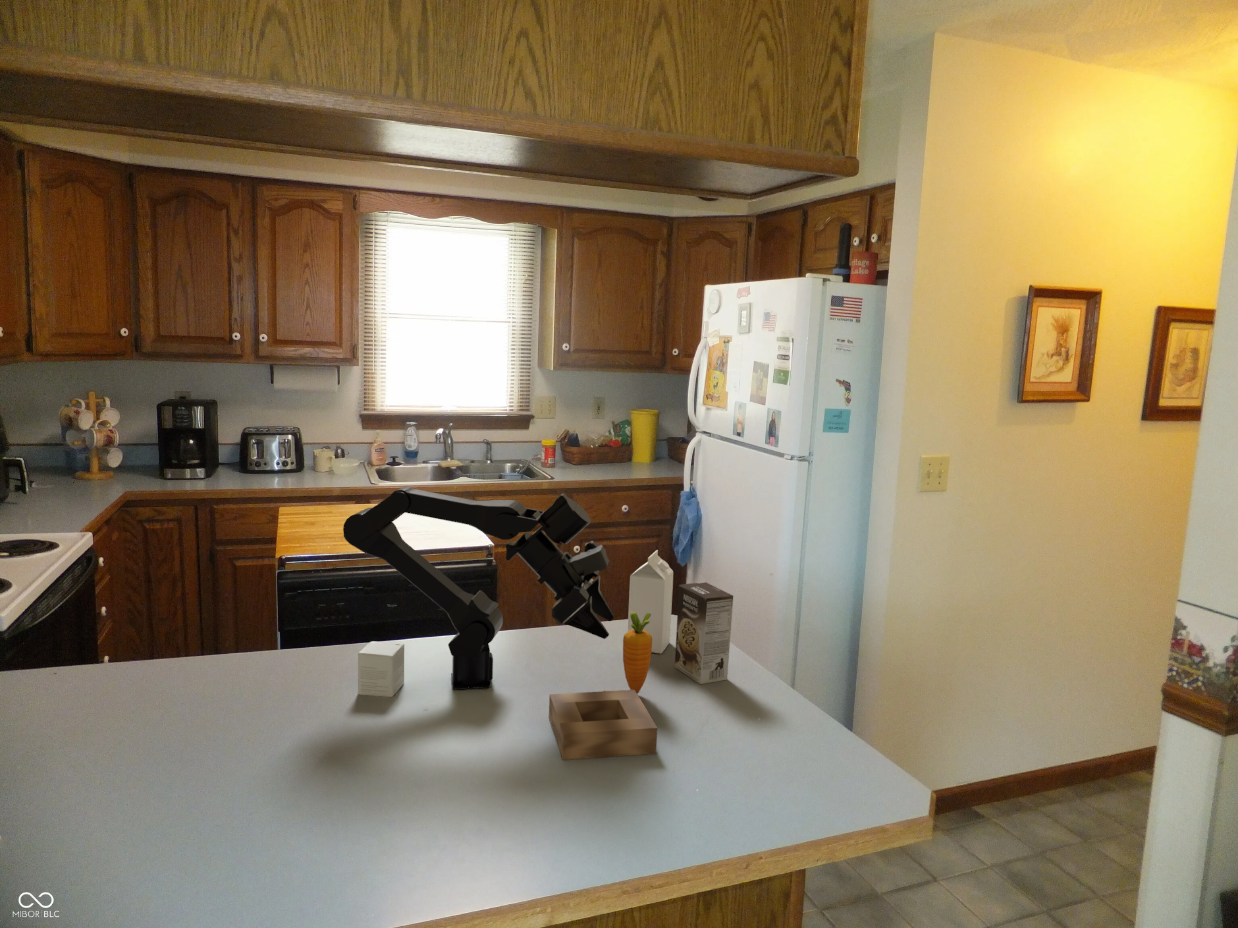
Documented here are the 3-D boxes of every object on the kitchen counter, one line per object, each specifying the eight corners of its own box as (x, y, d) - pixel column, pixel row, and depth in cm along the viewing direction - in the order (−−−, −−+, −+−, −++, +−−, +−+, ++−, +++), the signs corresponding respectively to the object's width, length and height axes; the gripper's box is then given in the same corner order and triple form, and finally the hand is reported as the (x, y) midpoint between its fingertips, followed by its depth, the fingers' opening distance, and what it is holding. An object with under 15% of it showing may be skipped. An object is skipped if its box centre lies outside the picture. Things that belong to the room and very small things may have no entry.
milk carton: (626, 649, 169) (630, 555, 167) (636, 637, 176) (640, 548, 173) (661, 654, 167) (666, 560, 165) (669, 642, 174) (674, 551, 171)
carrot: (648, 689, 150) (652, 606, 148) (650, 701, 145) (654, 616, 143) (620, 688, 150) (623, 606, 148) (621, 700, 145) (625, 615, 143)
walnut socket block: (562, 759, 124) (563, 733, 123) (548, 717, 137) (549, 693, 137) (656, 753, 127) (657, 727, 126) (633, 712, 140) (634, 689, 140)
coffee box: (672, 667, 161) (677, 584, 159) (701, 662, 164) (706, 580, 162) (699, 685, 153) (704, 597, 151) (729, 679, 156) (734, 594, 154)
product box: (371, 680, 149) (371, 640, 148) (405, 683, 148) (405, 642, 147) (357, 694, 143) (357, 652, 142) (392, 697, 142) (392, 655, 141)
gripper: (574, 542, 135) (641, 614, 136) (588, 519, 154) (647, 582, 154) (523, 588, 137) (590, 658, 138) (544, 559, 155) (602, 621, 156)
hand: (609, 627), depth 146 cm, fingers open, 9 cm apart
